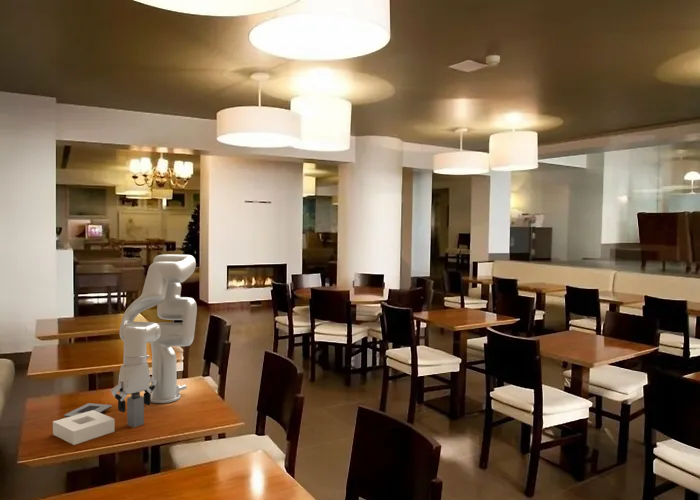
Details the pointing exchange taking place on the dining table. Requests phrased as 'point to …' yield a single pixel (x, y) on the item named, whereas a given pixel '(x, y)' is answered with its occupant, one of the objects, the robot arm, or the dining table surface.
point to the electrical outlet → (88, 409)
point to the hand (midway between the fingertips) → (134, 407)
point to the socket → (83, 427)
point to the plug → (135, 410)
